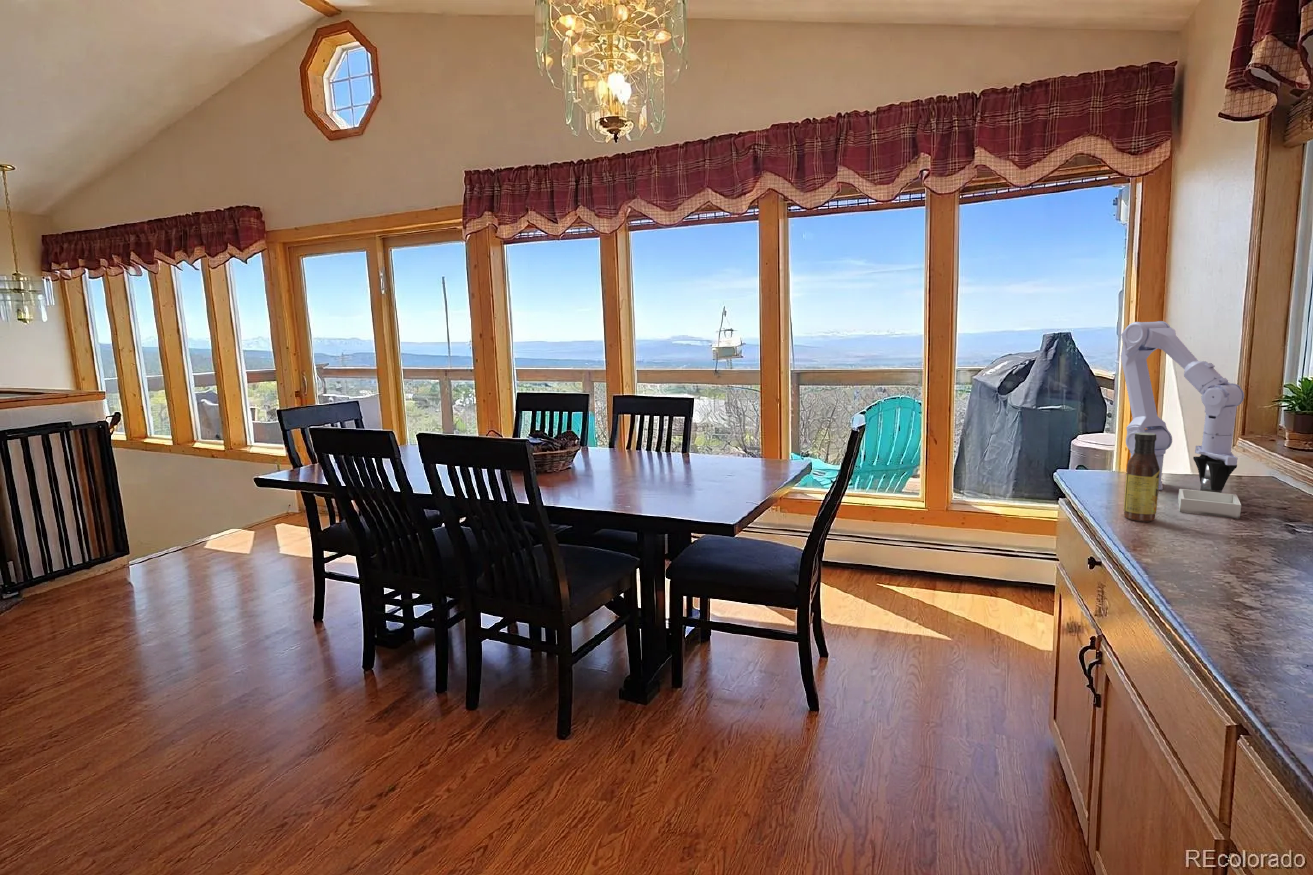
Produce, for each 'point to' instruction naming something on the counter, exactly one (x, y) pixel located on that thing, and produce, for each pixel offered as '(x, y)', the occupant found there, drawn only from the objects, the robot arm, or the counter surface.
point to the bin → (1209, 503)
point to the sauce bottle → (1142, 480)
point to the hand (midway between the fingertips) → (1211, 487)
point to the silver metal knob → (1207, 482)
